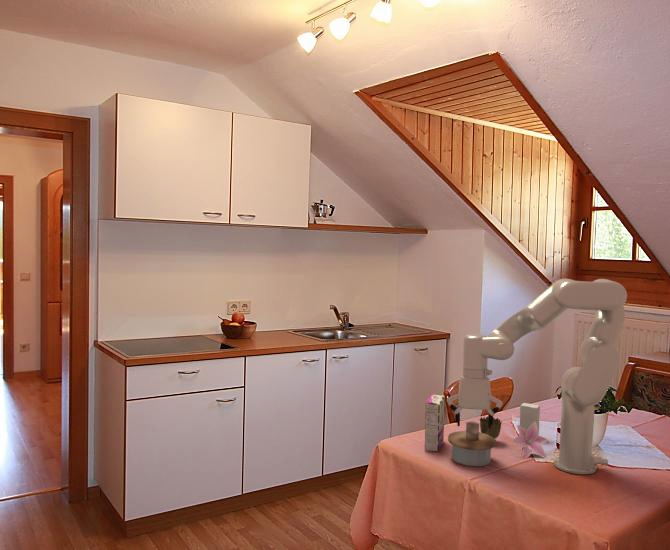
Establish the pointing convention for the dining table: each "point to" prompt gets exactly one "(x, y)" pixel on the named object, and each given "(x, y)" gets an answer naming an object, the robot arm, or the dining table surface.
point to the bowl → (471, 456)
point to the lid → (472, 438)
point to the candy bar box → (434, 422)
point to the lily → (530, 440)
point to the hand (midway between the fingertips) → (473, 426)
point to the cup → (494, 429)
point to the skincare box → (529, 415)
